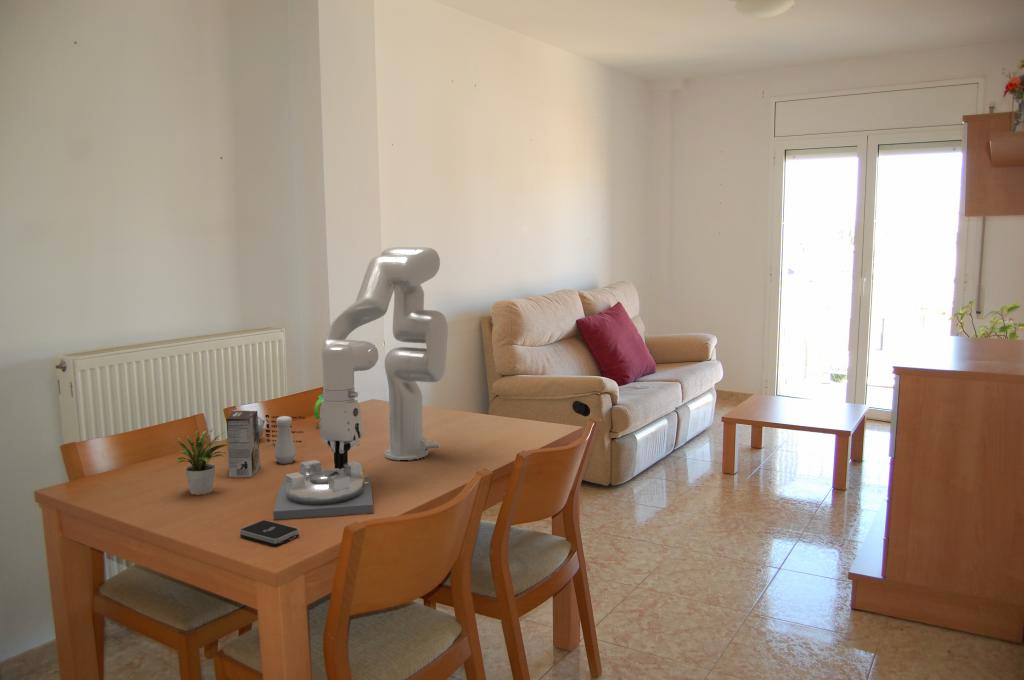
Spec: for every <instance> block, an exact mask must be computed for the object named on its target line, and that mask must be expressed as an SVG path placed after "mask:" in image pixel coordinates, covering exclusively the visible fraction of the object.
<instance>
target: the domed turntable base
mask: <svg viewBox="0 0 1024 680" xmlns="http://www.w3.org/2000/svg"><path fill="white" fill-rule="evenodd" d="M284 477H285V479H284V482H285V483H286V496H287V498H288V499H289V500H291V501H293V502H297V503H301V504H312V505H320V504H332V503H338V502H343V501H347V500H350V499H353V498H355V497H357V496H359V495H360V494H361V493H362V492H363V485H364V477H365V472H364V471H363V464H361V463H360V462H357V461H356V460H352V461H348V462H346V463H343V468H342V469H338V468H337V469H336V468H322V462H321V461H319V460H317V459H313V460H306V461H301V462H300V472H298V471H297V472H292V473H287V474H285V476H284Z"/></svg>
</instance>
